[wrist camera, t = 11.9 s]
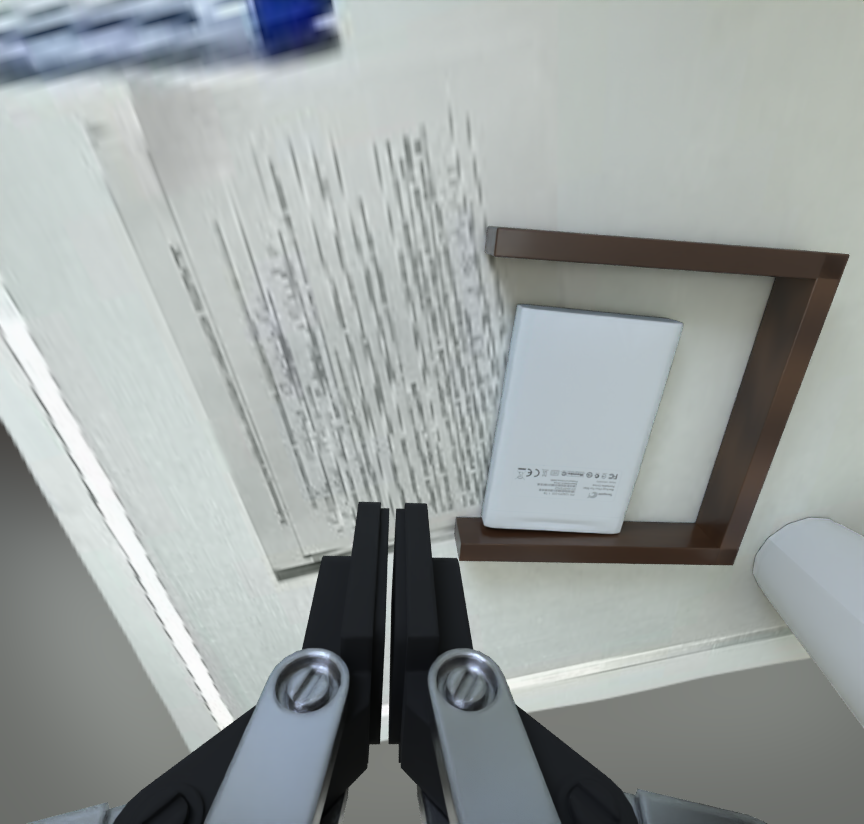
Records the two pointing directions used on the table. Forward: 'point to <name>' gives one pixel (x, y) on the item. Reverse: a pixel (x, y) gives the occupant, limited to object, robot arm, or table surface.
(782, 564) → the foam cup
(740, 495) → the dock
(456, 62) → the table surface
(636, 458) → the hard drive
